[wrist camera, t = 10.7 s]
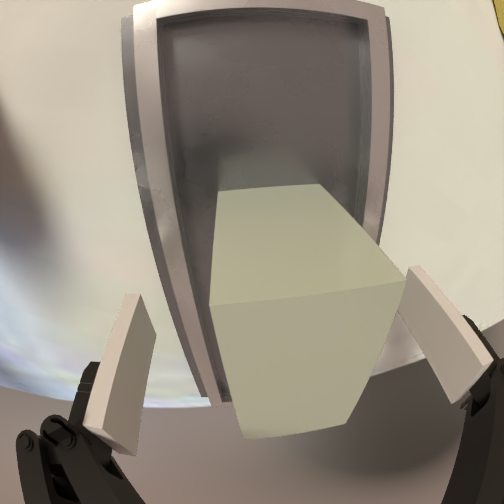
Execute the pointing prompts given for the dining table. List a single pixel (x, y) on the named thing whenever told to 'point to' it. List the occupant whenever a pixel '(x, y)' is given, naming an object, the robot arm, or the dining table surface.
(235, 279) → the block
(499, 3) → the plastic component
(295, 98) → the tray
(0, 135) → the dining table surface
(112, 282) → the dining table surface
